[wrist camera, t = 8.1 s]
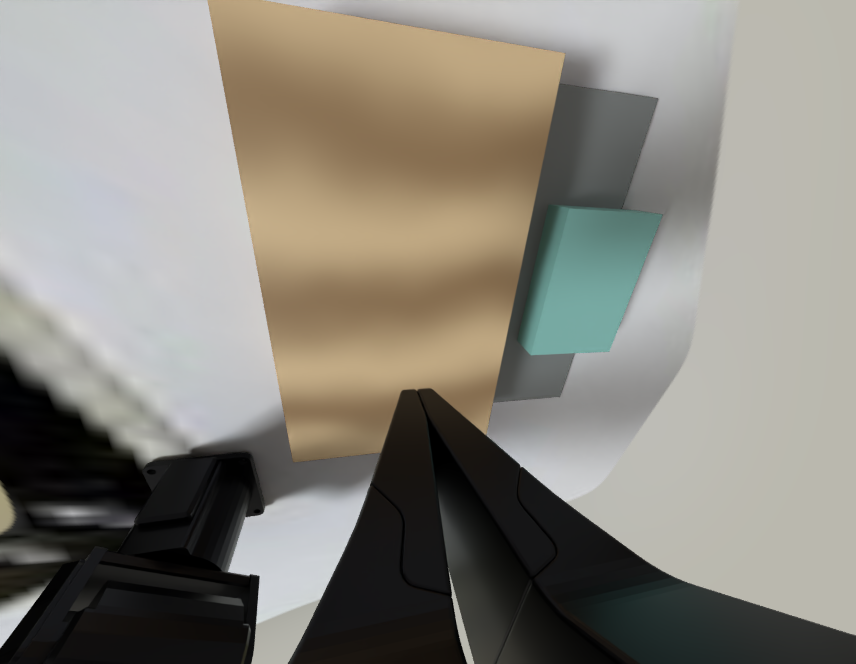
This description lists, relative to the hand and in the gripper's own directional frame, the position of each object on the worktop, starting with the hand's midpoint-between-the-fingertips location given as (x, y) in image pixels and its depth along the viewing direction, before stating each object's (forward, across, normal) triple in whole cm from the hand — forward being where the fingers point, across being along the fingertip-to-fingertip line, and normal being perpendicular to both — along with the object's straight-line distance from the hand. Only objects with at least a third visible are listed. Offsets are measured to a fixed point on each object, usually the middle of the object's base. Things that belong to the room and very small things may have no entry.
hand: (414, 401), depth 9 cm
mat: (+11, -10, 0) cm, 15 cm away
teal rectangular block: (+9, -12, 0) cm, 15 cm away
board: (+11, 0, 0) cm, 11 cm away
